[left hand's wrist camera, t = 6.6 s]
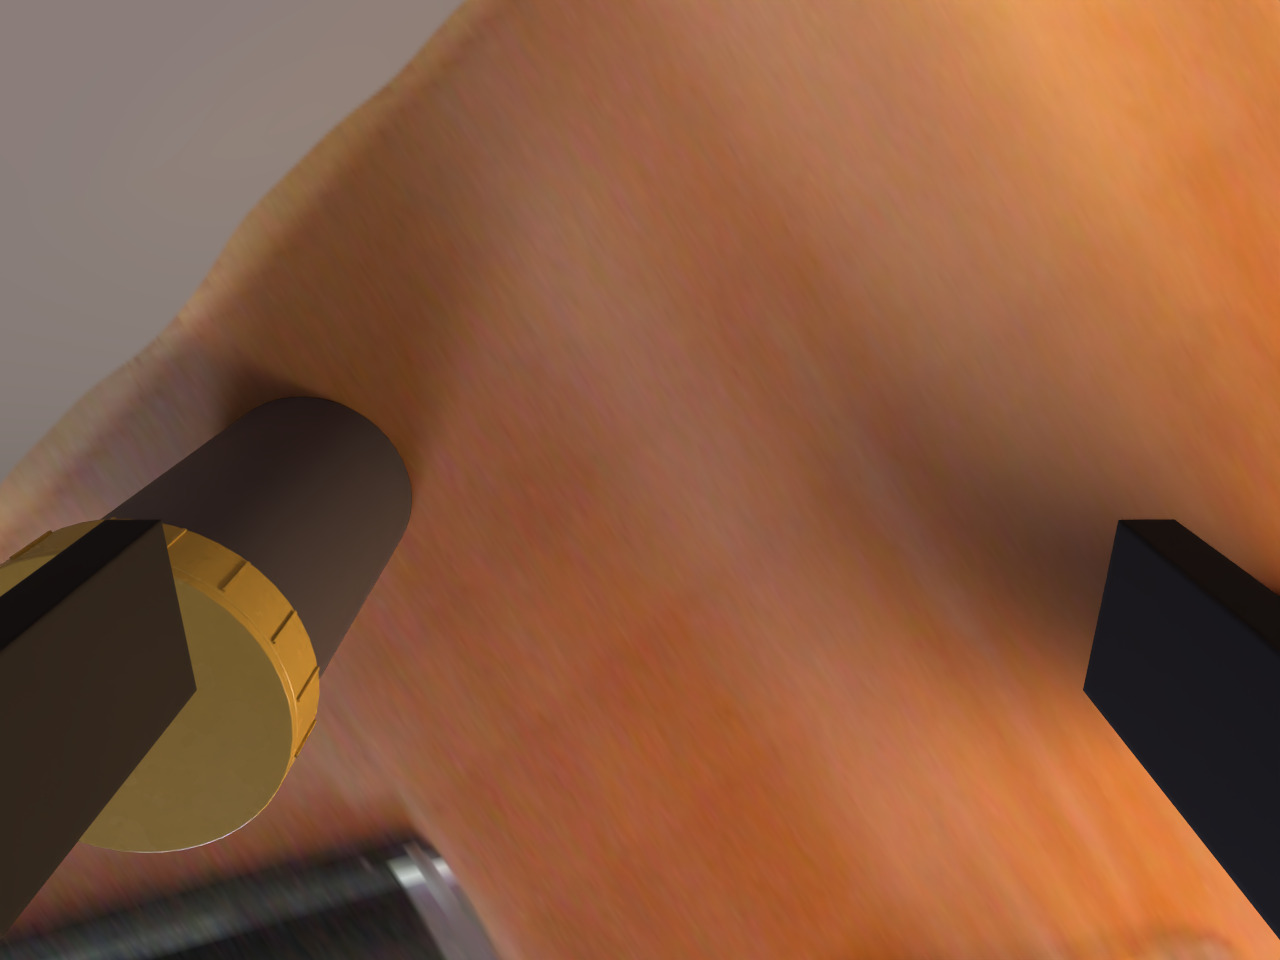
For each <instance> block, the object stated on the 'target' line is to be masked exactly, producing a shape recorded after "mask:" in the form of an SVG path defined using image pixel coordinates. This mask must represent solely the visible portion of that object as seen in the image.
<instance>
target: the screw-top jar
mask: <svg viewBox="0 0 1280 960" xmlns="http://www.w3.org/2000/svg"><path fill="white" fill-rule="evenodd" d="M411 504H412V494H411V485H410V480H409V477H408V473H407V470H406V467H405V465H404V463H403V460H402V458H401V457H400V455H399V453H398V451H397V449H396V448H395V447H394V445H393V444H392V443H391V441H390V440H389V439H388V437H387V436H386V435H385V434H384V433H383V432H382V431H381V430H380V429H379V428H378V427H377V426H376V425H374V424H373V423H372V422H371V421H370V420H368V419H367V418H365V417H364V416H362V415H361V414H359V413H357V412H356V411H354V410H352V409H350V408H348V407H345V406H343V405H340V404H337V403H335V402H332V401H327V400H323V399H319V398H310V397H290V398H284V399H278V400H275V401H271V402H268V403H265V404H263V405H261V406H259V407H256V408H255V409H253V410H251V411H250V412H248V413H247V414H245V415H244V416H242V417H241V418H240V419H238V420H237V421H236V422H234V423H233V424H231V425H230V426H229V427H227V428H226V429H225V430H223V431H222V432H220V433H219V434H218V435H216V436H215V437H213V438H212V439H211V440H209V441H208V442H207V443H205V444H204V445H202V446H201V447H200V448H198V449H197V450H196V451H194V452H193V453H191V454H190V455H189V456H187V457H186V458H185V459H183V460H182V461H180V462H179V463H178V464H176V465H175V466H174V467H172V468H171V469H169V470H168V471H167V472H165V473H164V474H162V475H161V476H160V477H158V478H157V479H156V480H154V481H153V482H151V483H150V484H149V485H147V486H146V487H145V488H143V489H142V490H140V491H139V492H138V493H136V494H135V495H134V496H132V497H131V498H129V499H128V500H127V501H125V502H124V503H123V504H121V505H120V506H118V507H117V508H116V509H114V510H113V511H111V512H110V513H109V514H107V515H106V516H105V517H103V518H102V519H100V520H103V519H111V518H112V517H116V519H135V520H162V523H163V524H167V525H172V526H176V527H179V528H182V529H183V528H185V529H187V530H188V531H191V532H194V533H197V534H199V535H202V536H204V537H206V538H208V539H210V540H213V541H215V542H217V543H219V544H221V545H223V546H224V547H226V548H228V549H229V550H231V551H233V552H234V553H236V554H238V555H239V556H241V557H242V558H244V559H245V560H246V561H247V562H248V561H249V562H250V563H251V565H253V566H254V567H255V568H257V569H258V570H259V571H260V572H261V573H262V574H263V575H265V576H266V577H267V578H268V579H269V580H270V581H271V582H272V583H273V584H274V585H275V586H276V587H277V588H278V590H279V591H280V592H281V593H282V594H283V595H284V597H285V598H286V599H287V600H288V601H289V603H290V604H291V606H292V607H293V609H294V610H296V612H297V615H298V616H299V618H300V620H301V622H302V624H303V626H304V628H305V630H306V632H307V634H308V636H309V638H310V641H311V644H312V647H313V650H314V653H315V657H316V662H317V666H319V671H318V674H319V679H320V677H321V676H322V674H323V672H324V671H325V669H326V667H327V665H328V664H329V662H330V660H331V659H332V657H333V655H334V653H335V652H336V650H337V648H338V646H339V645H340V643H341V641H342V640H343V638H344V636H345V634H346V633H347V631H348V629H349V628H350V626H351V624H352V622H353V621H354V619H355V617H356V616H357V614H358V612H359V610H360V609H361V607H362V605H363V603H364V602H365V600H366V598H367V597H368V595H369V593H370V591H371V590H372V588H373V586H374V585H375V583H376V581H377V579H378V578H379V576H380V574H381V573H382V571H383V569H384V567H385V566H386V564H387V562H388V561H389V559H390V557H391V555H392V554H393V552H394V550H395V548H396V547H397V545H398V543H399V542H400V540H401V538H402V536H403V534H404V532H405V530H406V528H407V524H408V521H409V518H410V513H411Z"/></svg>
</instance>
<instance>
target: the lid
mask: <svg viewBox="0 0 1280 960" xmlns="http://www.w3.org/2000/svg"><path fill="white" fill-rule="evenodd" d="M104 520H135V519H116V517H112V518H111V519H103V520H96V521H89V522H82V523H79V524H75V525H72V526H68V527H65V528H61V529H59V530H57V531H55V532H52V531H51V530H50V531H48V532H46V533H45V534H43V535H42V536H40V537H39V538H37V539H36V540H35V541H33V542H32V543H30V544H29V545H27V546H26V547H24V548H23V549H21V550H20V551H18V552H17V553H15V554H14V555H13V556H11V557H10V559H9V560H7V561H6V562H4V563H3V564H1V565H0V596H2V595H3V594H5V593H6V592H7V591H9V590H10V589H11V588H13V587H14V586H15V585H17V584H18V583H20V582H21V581H22V580H24V579H25V578H26V577H28V576H29V575H30V574H32V573H33V572H35V571H36V570H37V569H39V568H40V567H41V566H43V565H44V564H45V563H47V562H48V561H50V560H51V559H52V558H54V557H55V556H56V555H58V554H59V553H60V552H62V551H63V550H65V549H66V548H67V547H69V546H70V545H71V544H73V543H74V542H76V541H77V540H78V539H80V538H81V537H82V536H84V535H85V534H86V533H88V532H89V531H91V530H92V529H93V528H95V527H96V526H97V525H99V524H100V523H101V522H103V521H104ZM162 525H163V530H164V534H165V539H166V544H167V549H168V554H169V558H170V563H171V568H172V573H173V578H174V582H175V587H176V592H177V597H178V602H179V606H180V611H181V616H182V621H183V626H184V630H185V635H186V640H187V645H188V650H189V654H190V659H191V664H192V669H193V674H194V678H195V683H196V688H197V691H196V692H195V693H194V694H193V696H192V697H191V698H190V700H189V701H188V702H187V703H186V705H185V706H184V707H183V708H182V710H181V711H180V712H179V713H178V715H177V716H176V717H175V719H174V720H173V721H172V722H171V724H170V725H169V726H168V727H167V729H166V730H165V731H164V733H163V734H162V735H161V736H160V738H159V739H158V740H157V741H156V743H155V744H154V745H153V746H152V748H151V749H150V750H149V752H148V753H147V754H146V755H145V757H144V758H143V759H142V760H141V762H140V763H139V764H138V766H137V767H136V768H135V769H134V771H133V772H132V773H131V774H130V776H129V777H128V778H127V779H126V781H125V782H124V783H123V785H122V786H121V787H120V788H119V790H118V791H117V792H116V793H115V795H114V796H113V797H112V798H111V800H110V801H109V802H108V804H107V805H106V806H105V807H104V809H103V810H102V811H101V812H100V814H99V815H98V816H97V818H96V819H95V820H94V821H93V823H92V824H91V825H90V826H89V828H88V829H87V830H86V831H85V833H84V834H83V835H82V837H81V838H80V839H79V840H78V841H79V842H82V843H86V844H89V845H93V846H97V847H102V848H107V849H113V850H118V851H129V852H140V853H145V852H169V851H177V850H184V849H188V848H193V847H197V846H201V845H204V844H207V843H210V842H212V841H215V840H218V839H221V838H223V837H225V836H227V835H228V834H230V833H232V832H234V831H236V830H238V829H240V828H241V827H242V826H244V825H245V824H246V823H248V822H249V821H251V820H252V819H253V818H255V817H256V816H257V815H258V814H259V813H260V812H261V811H262V810H263V809H264V808H265V807H266V806H267V805H268V803H269V802H270V801H271V799H272V798H273V797H274V795H275V794H276V792H277V791H278V789H279V788H280V786H281V784H282V782H283V780H284V779H285V777H286V775H287V773H288V771H289V769H290V768H291V766H292V764H293V762H294V760H295V758H297V757H298V755H299V753H300V751H301V749H302V747H303V746H304V744H305V742H306V740H307V738H308V736H309V734H310V733H311V731H312V729H313V727H314V725H315V723H316V720H314V718H315V715H316V712H317V706H318V699H319V674H318V671H319V666H317V662H316V657H315V653H314V650H313V647H312V644H311V641H310V638H309V636H308V634H307V632H306V630H305V628H304V626H303V624H302V622H301V620H300V618H299V616H298V615H297V612H296V610H294V609H293V607H292V606H291V604H290V603H289V601H288V600H287V599H286V598H285V597H284V595H283V594H282V593H281V592H280V591H279V590H278V588H277V587H276V586H275V585H274V584H273V583H272V582H271V581H270V580H269V579H268V578H267V577H266V576H265V575H263V574H262V573H261V572H260V571H259V570H258V569H257V568H255V567H254V566H253V565H251V563H250V562H249V561H248V562H247V561H246V560H245V559H244V558H242V557H241V556H239V555H238V554H236V553H234V552H233V551H231V550H229V549H228V548H226V547H224V546H223V545H221V544H219V543H217V542H215V541H213V540H210V539H208V538H206V537H204V536H202V535H199V534H197V533H194V532H191V531H188V530H187V529H185V528H183V529H182V528H179V527H176V526H172V525H167V524H163V523H162Z"/></svg>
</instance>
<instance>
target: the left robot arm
mask: <svg viewBox="0 0 1280 960" xmlns="http://www.w3.org/2000/svg"><path fill="white" fill-rule="evenodd" d="M196 691H197V688H196V683H195V678H194V674H193V669H192V664H191V659H190V654H189V650H188V645H187V640H186V635H185V630H184V626H183V621H182V616H181V611H180V606H179V602H178V597H177V592H176V587H175V582H174V578H173V573H172V568H171V563H170V558H169V554H168V549H167V544H166V539H165V534H164V530H163V525H162V520H104V521H103V522H101V523H100V524H99V525H97V526H96V527H95V528H93V529H92V530H91V531H89V532H88V533H86V534H85V535H84V536H82V537H81V538H80V539H78V540H77V541H76V542H74V543H73V544H71V545H70V546H69V547H67V548H66V549H65V550H63V551H62V552H60V553H59V554H58V555H56V556H55V557H54V558H52V559H51V560H50V561H48V562H47V563H45V564H44V565H43V566H41V567H40V568H39V569H37V570H36V571H35V572H33V573H32V574H30V575H29V576H28V577H26V578H25V579H24V580H22V581H21V582H20V583H18V584H17V585H15V586H14V587H13V588H11V589H10V590H9V591H7V592H6V593H5V594H3V595H2V596H0V939H1V938H2V937H3V935H4V934H5V933H6V932H7V930H8V929H9V928H10V927H11V925H12V924H13V923H14V922H15V920H16V919H17V918H18V916H19V915H20V914H21V913H22V911H23V910H24V909H25V908H26V906H27V905H28V904H29V903H30V901H31V900H32V899H33V897H34V896H35V895H36V894H37V892H38V891H39V890H40V889H41V887H42V886H43V885H44V883H45V882H46V881H47V880H48V878H49V877H50V876H51V875H52V873H53V872H54V871H55V870H56V868H57V867H58V866H59V864H60V863H61V862H62V861H63V859H64V858H65V857H66V856H67V854H68V853H69V852H70V850H71V849H72V848H73V847H74V845H75V844H76V843H77V842H78V840H79V839H80V838H81V837H82V835H83V834H84V833H85V831H86V830H87V829H88V828H89V826H90V825H91V824H92V823H93V821H94V820H95V819H96V818H97V816H98V815H99V814H100V812H101V811H102V810H103V809H104V807H105V806H106V805H107V804H108V802H109V801H110V800H111V798H112V797H113V796H114V795H115V793H116V792H117V791H118V790H119V788H120V787H121V786H122V785H123V783H124V782H125V781H126V779H127V778H128V777H129V776H130V774H131V773H132V772H133V771H134V769H135V768H136V767H137V766H138V764H139V763H140V762H141V760H142V759H143V758H144V757H145V755H146V754H147V753H148V752H149V750H150V749H151V748H152V746H153V745H154V744H155V743H156V741H157V740H158V739H159V738H160V736H161V735H162V734H163V733H164V731H165V730H166V729H167V727H168V726H169V725H170V724H171V722H172V721H173V720H174V719H175V717H176V716H177V715H178V713H179V712H180V711H181V710H182V708H183V707H184V706H185V705H186V703H187V702H188V701H189V700H190V698H191V697H192V696H193V694H194V693H195V692H196ZM1083 691H1084V692H1085V693H1086V694H1087V696H1088V697H1089V698H1090V700H1091V701H1092V702H1093V703H1094V705H1095V706H1096V707H1097V708H1098V710H1099V711H1100V712H1101V713H1102V715H1103V716H1104V717H1105V719H1106V720H1107V721H1108V722H1109V724H1110V725H1111V726H1112V727H1113V729H1114V730H1115V731H1116V733H1117V734H1118V735H1119V736H1120V738H1121V739H1122V740H1123V741H1124V743H1125V744H1126V745H1127V746H1128V748H1129V749H1130V750H1131V752H1132V753H1133V754H1134V755H1135V757H1136V758H1137V759H1138V760H1139V762H1140V763H1141V764H1142V766H1143V767H1144V768H1145V769H1146V771H1147V772H1148V773H1149V774H1150V776H1151V777H1152V778H1153V779H1154V781H1155V782H1156V783H1157V785H1158V786H1159V787H1160V788H1161V790H1162V791H1163V792H1164V793H1165V795H1166V796H1167V797H1168V798H1169V800H1170V801H1171V802H1172V804H1173V805H1174V806H1175V807H1176V809H1177V810H1178V811H1179V812H1180V814H1181V815H1182V816H1183V818H1184V819H1185V820H1186V821H1187V823H1188V824H1189V825H1190V826H1191V828H1192V829H1193V830H1194V831H1195V833H1196V834H1197V835H1198V837H1199V838H1200V839H1201V840H1202V842H1203V843H1204V844H1205V845H1206V847H1207V848H1208V849H1209V850H1210V852H1211V853H1212V854H1213V856H1214V857H1215V858H1216V859H1217V861H1218V862H1219V863H1220V864H1221V866H1222V867H1223V868H1224V870H1225V871H1226V872H1227V873H1228V875H1229V876H1230V877H1231V878H1232V880H1233V881H1234V882H1235V883H1236V885H1237V886H1238V887H1239V889H1240V890H1241V891H1242V892H1243V894H1244V895H1245V896H1246V897H1247V899H1248V900H1249V901H1250V903H1251V904H1252V905H1253V906H1254V908H1255V909H1256V910H1257V911H1258V913H1259V914H1260V915H1261V916H1262V918H1263V919H1264V920H1265V922H1266V923H1267V924H1268V925H1269V927H1270V928H1271V929H1272V930H1273V932H1274V933H1275V934H1276V935H1277V937H1278V938H1279V939H1280V596H1278V595H1277V594H1275V593H1274V592H1273V591H1271V590H1270V589H1269V588H1267V587H1266V586H1265V585H1263V584H1262V583H1260V582H1259V581H1258V580H1256V579H1255V578H1254V577H1252V576H1251V575H1250V574H1248V573H1247V572H1245V571H1244V570H1243V569H1241V568H1240V567H1239V566H1237V565H1236V564H1235V563H1233V562H1232V561H1230V560H1229V559H1228V558H1226V557H1225V556H1224V555H1222V554H1221V553H1220V552H1218V551H1217V550H1215V549H1214V548H1213V547H1211V546H1210V545H1209V544H1207V543H1206V542H1204V541H1203V540H1202V539H1200V538H1199V537H1198V536H1196V535H1195V534H1194V533H1192V532H1191V531H1189V530H1188V529H1187V528H1185V527H1184V526H1183V525H1181V524H1180V523H1179V522H1177V521H1176V520H1118V525H1117V530H1116V534H1115V539H1114V544H1113V549H1112V554H1111V558H1110V563H1109V568H1108V573H1107V578H1106V582H1105V587H1104V592H1103V597H1102V602H1101V606H1100V611H1099V616H1098V621H1097V626H1096V630H1095V635H1094V640H1093V645H1092V650H1091V654H1090V659H1089V664H1088V669H1087V674H1086V678H1085V683H1084V688H1083Z"/></svg>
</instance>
